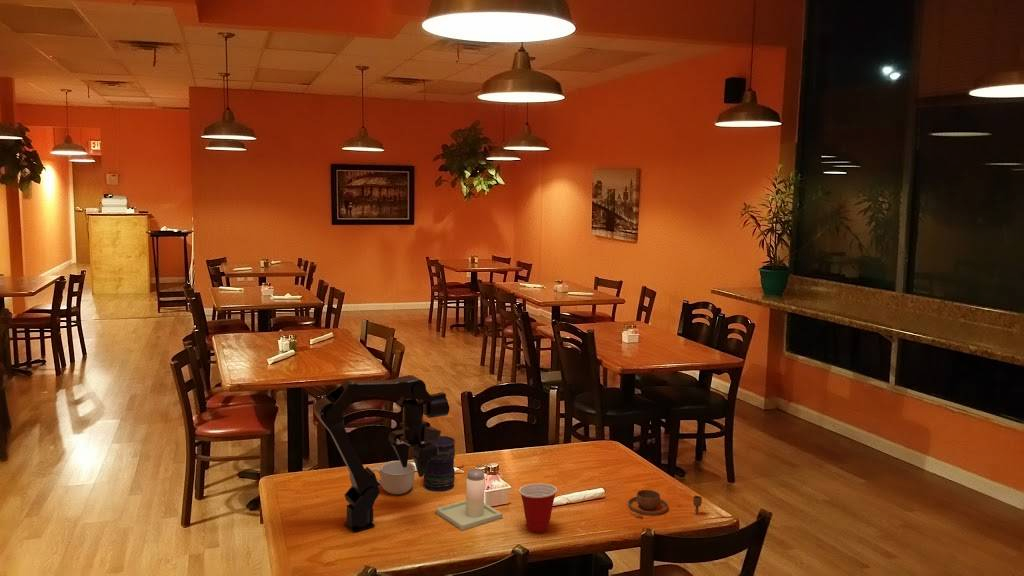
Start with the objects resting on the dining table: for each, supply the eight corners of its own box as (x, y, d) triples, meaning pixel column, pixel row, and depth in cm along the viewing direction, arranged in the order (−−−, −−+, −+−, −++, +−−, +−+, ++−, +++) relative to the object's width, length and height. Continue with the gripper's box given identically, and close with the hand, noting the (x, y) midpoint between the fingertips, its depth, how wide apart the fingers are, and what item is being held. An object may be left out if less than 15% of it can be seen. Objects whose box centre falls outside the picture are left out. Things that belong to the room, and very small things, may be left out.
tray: (462, 530, 217) (462, 525, 217) (435, 513, 228) (435, 508, 228) (502, 518, 225) (502, 513, 225) (474, 502, 236) (474, 497, 236)
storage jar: (460, 484, 250) (461, 439, 248) (442, 494, 242) (443, 448, 240) (435, 477, 255) (436, 433, 253) (417, 487, 247) (417, 442, 245)
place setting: (649, 495, 246) (650, 477, 245) (704, 515, 232) (705, 497, 231) (614, 510, 234) (615, 492, 233) (669, 533, 220) (670, 513, 219)
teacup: (418, 485, 248) (418, 461, 247) (410, 498, 238) (410, 473, 237) (375, 482, 250) (375, 458, 249) (366, 496, 239) (366, 471, 238)
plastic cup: (533, 517, 227) (534, 477, 225) (563, 528, 220) (565, 487, 218) (509, 529, 218) (510, 488, 217) (540, 541, 212) (541, 499, 210)
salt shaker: (476, 519, 223) (478, 476, 221) (462, 514, 226) (463, 472, 224) (486, 513, 227) (488, 471, 226) (472, 508, 230) (473, 467, 228)
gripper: (454, 423, 220) (453, 476, 222) (420, 407, 235) (420, 457, 237) (420, 430, 213) (420, 484, 216) (387, 413, 228) (387, 464, 230)
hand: (412, 472), depth 225 cm, fingers open, 9 cm apart
